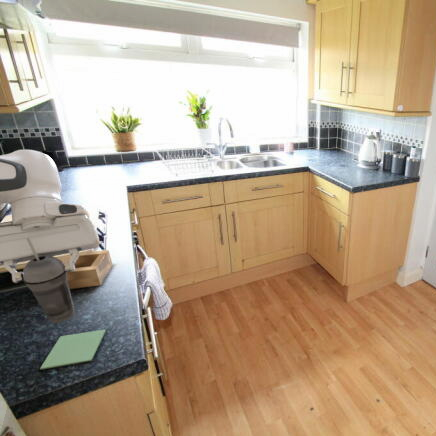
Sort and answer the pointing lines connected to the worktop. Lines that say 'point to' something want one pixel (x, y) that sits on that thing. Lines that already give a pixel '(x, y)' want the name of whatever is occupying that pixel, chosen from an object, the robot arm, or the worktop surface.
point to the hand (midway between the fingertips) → (45, 276)
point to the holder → (89, 269)
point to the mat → (74, 349)
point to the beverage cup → (49, 286)
